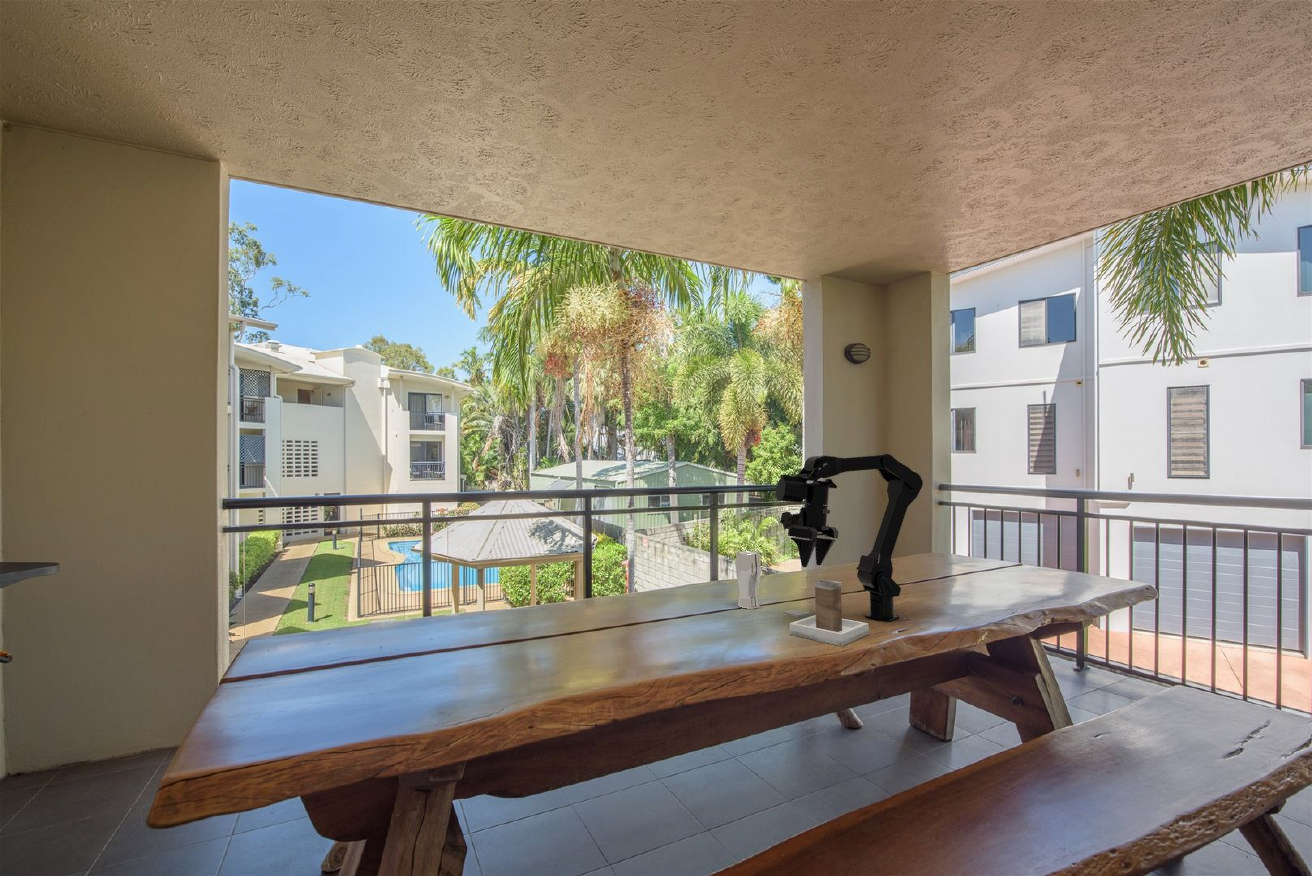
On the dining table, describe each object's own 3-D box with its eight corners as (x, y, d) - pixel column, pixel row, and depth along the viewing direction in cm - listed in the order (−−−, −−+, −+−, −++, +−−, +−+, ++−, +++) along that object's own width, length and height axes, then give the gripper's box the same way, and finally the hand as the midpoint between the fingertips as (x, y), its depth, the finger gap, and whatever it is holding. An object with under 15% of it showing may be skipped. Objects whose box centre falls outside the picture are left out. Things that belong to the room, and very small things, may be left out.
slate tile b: (796, 612, 155) (796, 609, 155) (810, 615, 151) (810, 612, 151) (783, 614, 152) (783, 611, 152) (797, 618, 148) (797, 615, 148)
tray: (817, 624, 142) (817, 613, 142) (868, 634, 133) (868, 623, 133) (789, 634, 133) (789, 623, 133) (841, 646, 124) (841, 634, 124)
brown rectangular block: (826, 626, 136) (825, 579, 137) (842, 630, 132) (841, 582, 133) (815, 629, 133) (814, 581, 134) (832, 633, 130) (831, 584, 130)
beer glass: (760, 604, 164) (759, 551, 165) (762, 609, 157) (761, 554, 158) (735, 603, 165) (735, 551, 166) (736, 609, 158) (736, 554, 159)
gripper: (801, 502, 159) (797, 559, 158) (771, 500, 144) (766, 562, 143) (840, 506, 152) (836, 566, 151) (813, 504, 137) (808, 570, 136)
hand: (811, 566), depth 145 cm, fingers open, 9 cm apart
